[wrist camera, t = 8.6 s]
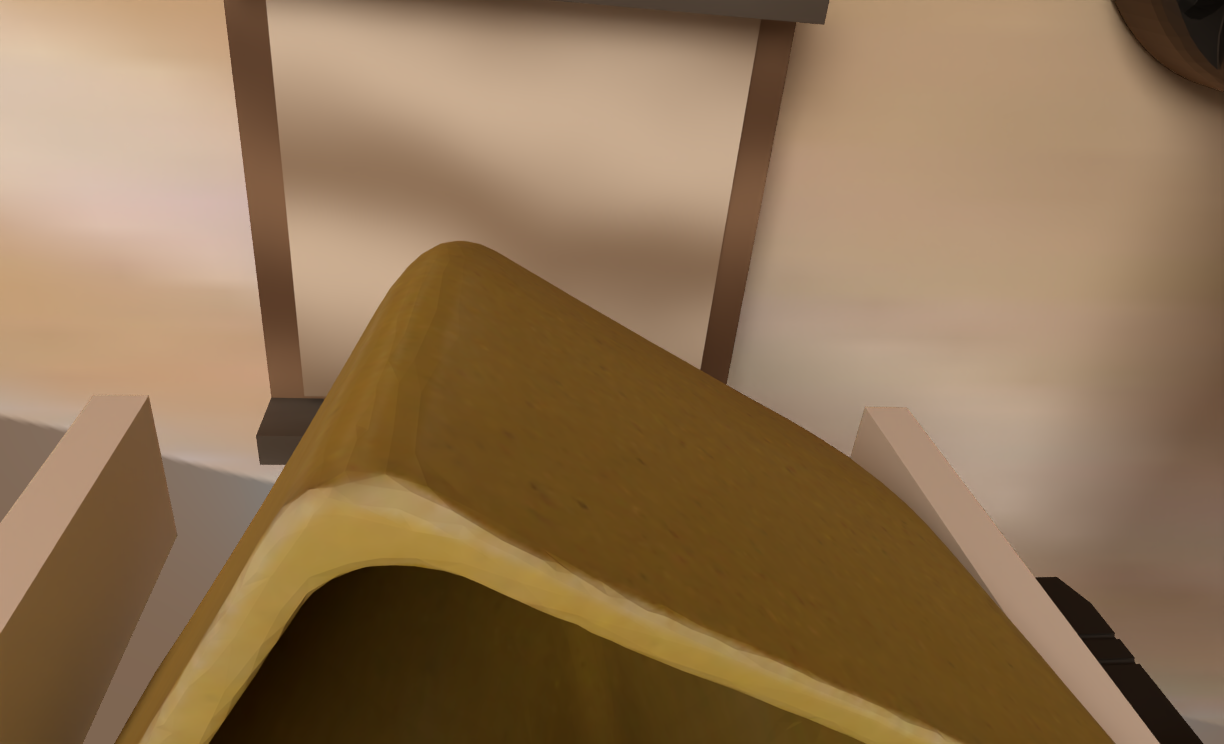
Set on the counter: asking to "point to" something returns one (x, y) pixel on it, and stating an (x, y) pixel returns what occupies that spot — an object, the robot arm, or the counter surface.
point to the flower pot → (581, 560)
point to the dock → (502, 161)
